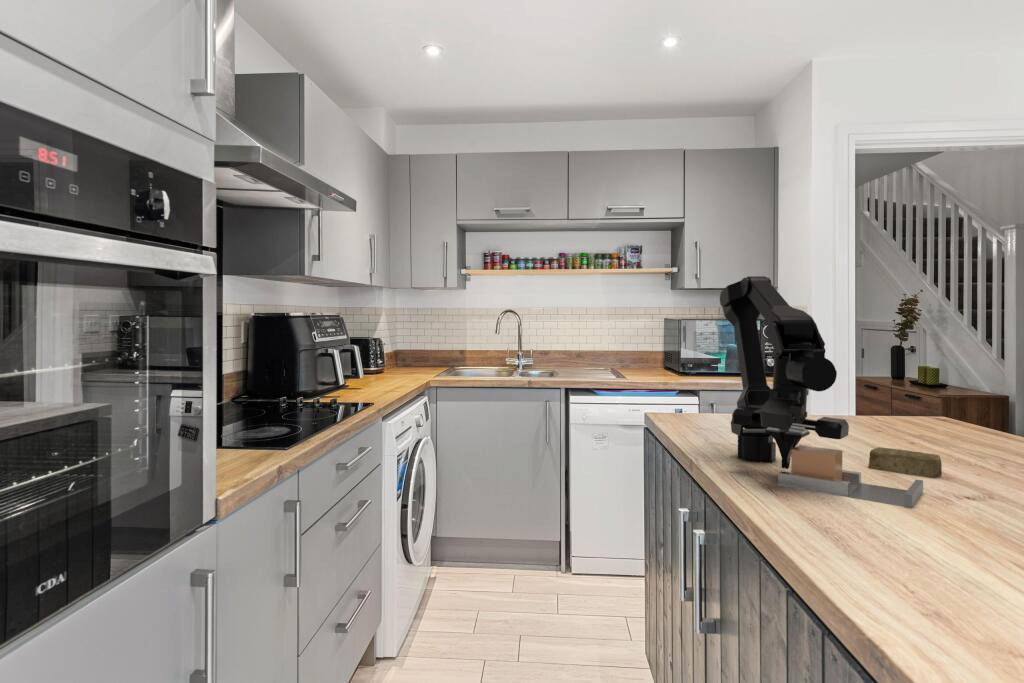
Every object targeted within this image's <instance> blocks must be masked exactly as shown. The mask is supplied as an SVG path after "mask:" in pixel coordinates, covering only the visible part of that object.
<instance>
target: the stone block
mask: <svg viewBox="0 0 1024 683" xmlns="http://www.w3.org/2000/svg"><path fill="white" fill-rule="evenodd" d="M941 459H942V458H941V456H940V455H939V454H935V453H926V452H922V451H914V450H906V449H899V448H889V447H875V448H873V449H871V450H870V451H869V458H868V467H867V468H868V469H870V470H876V471H883V472H889V473H895V474H902V475H908V476H914V477H916V476H917V477H922V478H927V479H928V478H929V479H930V478H931V479H936V478H938V477H942V474H943V472H942V471H943V469H942V460H941Z"/></svg>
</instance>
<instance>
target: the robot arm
mask: <svg viewBox="0 0 1024 683" xmlns="http://www.w3.org/2000/svg"><path fill="white" fill-rule="evenodd" d="M719 304H720V306H721V307H722V310H723V315H724V318H725V319H727V321H728V322H729V323H730V324H731V325H732V326H733V331H734V335H735V336H734V337H735V338H734V339H735V342H736V343H735V344H736V349H737V356H738V363H739V364H738V365H739V370H740V376H741V378H740V379H741V383H742V392H741V393H740V395H739V397H738V400H737V401H736V408H735V409H734V410H733V411H732V414H731V421H730V428H731V433H732V434H734V435H736V436H737V459H740V460H742V461H746V462H750V463H769V464H772V463H774V462H776V461H777V460H776V458H777V457H776V455H777V453H776V450H777V447H778V451H779V454H780V457H781V469H786V470H788V469H790V465H791V464H790V463H791V453H792V449H793V448H795V447H797V446H798V444H799V443H800V441H801V440H802V438H805V437H807V436H809V435H810V431H814V432H815V433H816V434H817V435H818V436H819V437H820V438H825V439H833V440H842V439H844V438H846V437H848V436H849V428H850V426H849V422H848V421H847V420H846V419H844V418H837V417H836V418H835V417H830V416H828V417H827V416H823V417H821V418H818V419H816V420H815V419H808V411H807V401H808V400H807V399H808V396H809V395H810V394H809V391H814V392H824V391H827V390H829V389H830V388H831V387H832V386H833V385H834V384H835V382H836V380H837V374H838V373H837V369H836V367H835V365H834V363H833V362H832V361H831V360H829V359H828V358H826V349H825V348H826V347H825V346H826V343H825V341H824V339H823V337H822V335H821V333H820V331H819V329H818V326H817V323H816V322H815V320H814V318H813V317H812V316H811V315H810V314H808V313H807V312H806V311H804V310H802V309H798V308H795V307H792V305H790V304H789V303H788V302H787V301H786V300H785V298H784V297H783V296H782V295H781V294H780V292H778V290H777V289H776V288H775V287H774V285H773V284H772V281H771V278H770V277H767V276H763V275H762V276H761V275H759V276H757V275H756V276H750V275H749V276H747V277H742V279H741V280H739V281H737V282H734V283H731V284H729V285H726V286H725V287H724V289H723V290H721V292H720V295H719ZM760 315H761V316H762V317H763V319H764V320H765V322H766V324H767V325H766V330H765V334H766V337H767V340H768V341H769V342H770V345H771V346H772V348H773V351H772V352H771V354H770V355H771V357H774V358H773V373H772V374H773V376H772V377H773V378H772V388H771V387H770V386H769V385H768V382H767V375H766V370H765V365H764V364H765V362H764V358H763V357H764V356H763V351H762V350H763V349H762V345H761V339H760V334H759V327H758V318H759V317H760ZM819 437H818V438H819Z"/></svg>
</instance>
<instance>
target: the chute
mask: <svg viewBox="0 0 1024 683" xmlns="http://www.w3.org/2000/svg"><path fill="white" fill-rule="evenodd" d="M777 474H778V475H777V476H778V477H777V478H778V479H777V480H778V481H777V484H776V486H781V487H784V488H785V487H786V488H790V489H798V490H803V491H808V492H815V493H820V494H821V493H822V494H825V495H832V496H837V497H838V496H839V497H844V498H849V499H856V500H859V501H860V500H862V501H868V502H873V503H879V504H885V505H891V506H897V507H901V508H908V509H913V508H914V506H915V505H916V503H917V502H918V500H919V499H920V497H921V496H922V495H923V493H924V480H923V479H915V480H914V481H913V482H912V484H910V486H909V488H908V489H901V488H895V487H888V486H884V485H883V486H882V485H876V484H869V483H863V482H862V472H859V471H853V470H847V469H842V481H841V480H834V479H828V478H822V477H815V476H809V475H802V474H796V473H791V472H788V471H783V470H781V471H779V472H777Z"/></svg>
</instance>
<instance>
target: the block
mask: <svg viewBox="0 0 1024 683" xmlns="http://www.w3.org/2000/svg"><path fill="white" fill-rule="evenodd" d="M790 463H791V464H790V465H791V466H790V467H791V472H790V473H796V474H802V475H809V476H815V477H822V478H828V479H834V480H841V481H842V470H843V450H842V449H835V448H828V447H817V446H810V445H803V444H802V445H801V444H799V445H797V446H796V447H795V448H793V449H792V453H791V457H790Z"/></svg>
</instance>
